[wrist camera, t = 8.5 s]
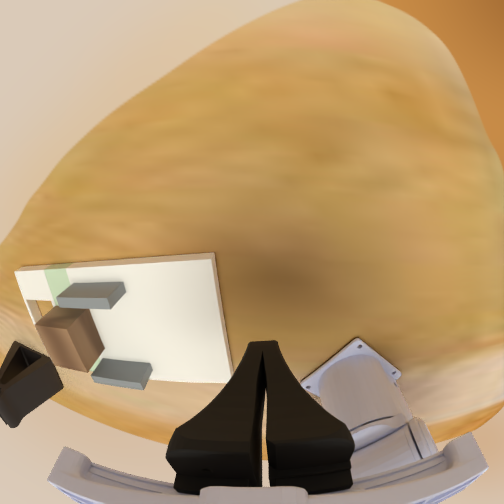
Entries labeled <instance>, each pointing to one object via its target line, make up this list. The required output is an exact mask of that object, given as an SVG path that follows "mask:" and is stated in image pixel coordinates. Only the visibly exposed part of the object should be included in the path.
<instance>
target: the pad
mask: <svg viewBox="0 0 504 504" xmlns="http://www.w3.org/2000/svg"><path fill="white" fill-rule="evenodd" d="M71 264H73V263H64V264H52V265H50V266H49V267H47V268H46V269H44V272H45V275H46V278H47V282H48V285H49V288H50V291H51V293H52V296H53V299H54V302H55V304H56V306H59V305H58V302H57V299H56V297H57V296H58V295H59V294H60V293H62V292H63V291H64V290H65V289H67V288H68V287H69V286H70V282H69V279H68V275H67V272H66V269H65V268H67V267H68V266H70V265H71ZM100 361H101V360H100V358H98V359H97V361H96V362H95V363H94V365H93V366H92V368H91V369H90V370H89V371H94V370H95V369H96V367H97V366H98V364H99V363H100Z"/></svg>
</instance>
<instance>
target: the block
mask: <svg viewBox="0 0 504 504" xmlns="http://www.w3.org/2000/svg"><path fill="white" fill-rule="evenodd" d="M35 327H36V329H37V332H38V334H39V336H40V338H41V340H42V342H43V344H44V346H45V348H46V350H47V352H48V354H49V356H50V358H51V360H52V362H53V363H54V365H56V366H60V367H64V368H68V369H73V370H77V371H82V372H87V373H88V372H89V370H90V369H91V368H92V366H93V365H94V363H95V362H96V361H97V359H98V358H99V356H100V355H101V354H102V352H103V351H104V349H105V347H104V345H103V343H102V340H101V338H100V335H99V333H98V330H97V328H96V325H95V323H94V320H93V318H92V315H91V312H90V309H81V308H61V307H59V306H55V307H54V308H52V309H51V310H50V311H49V312H48V313H47V314H46V315H44V316H43V317H42V318H41V319H40V320H39V321H38V322H37V323H36V324H35Z"/></svg>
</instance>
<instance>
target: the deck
mask: <svg viewBox="0 0 504 504" xmlns="http://www.w3.org/2000/svg"><path fill="white" fill-rule="evenodd" d="M51 265H52V264H51ZM49 266H50V265H38V266H25V267H21V268H19V269H18V270H16V271H14V272H15V275H16V278H17V281H18V284H19V287H20V290H21V293H22V296H23V298H24V301H25V304H26V306H27V309H28V311H29V314H30V316H31V318H32V321H33V323H34V325H35V324H36V323H37V322H38V321H39V320H40V319H41V318H42V315H41V313H40V310H39V308H38V305H37V303H36V300H47V301H51V302H52V305H53V307H55V306H56V304H55V302H54V299H53V296H52V293H51V291H50V288H49V285H48V282H47V278H46V275H45V272H44V269H46V268H47V267H49ZM65 269H66V272H67V275H68V279H69V282H70V286H69V287H68V288H67V289H65V290H64V291H63V292H62V293H60V294H59V295H58V296H57V297H56V299H57V302H58V305H59V307H61V308H81V309H90V312H91V315H92V318H93V320H94V323H95V325H96V328H97V330H98V333H99V335H100V338H101V340H102V343H103V345H104V347H105V349H104V351H103V352H102V354H101V355H100V356H99V358H100V360H101V361H100V363H99V364H98V366H97V367H96V369H95V370H94V371H93V373H92V374H91V377H92V379H93V380H94V382H95V383H100V384H106V385H111V386H117V387H124V388H131V389H138V390H144V389H145V386H146V384H147V382H148V380H149V379H151V380H162V381H176V382H197V383H228V381H229V380H230V378H231V377H232V375H233V374H234V372H233V366H232V361H231V355H230V350H229V344H228V338H227V332H226V326H225V320H224V314H223V308H222V301H221V295H220V288H219V281H218V275H217V268H216V261H215V253H214V252H212V253H198V254H185V255H171V256H158V257H144V258H131V259H117V260H104V261H91V262H77V263H73V264H71V265H70V266H68V267H67V268H65ZM36 330H37V329H36Z"/></svg>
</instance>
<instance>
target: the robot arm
mask: <svg viewBox="0 0 504 504" xmlns="http://www.w3.org/2000/svg"><path fill="white" fill-rule="evenodd" d="M359 345H360V346H359ZM400 376H401V372H400V371H399V370H398V369H397V368H395V367H394V366H393V365H392V364H390V363H389V362H388V361H387V360H386V359H384V358H383V357H382V356H381V355H379V354H378V353H377V352H376V351H374V350H373V349H372V348H371V347H369V346H368V345H367V344H366V343H364V342H363V341H362V340H361V339H359V338H356V339H354V340H353V341H351V342H350V343H349V344H348V345H347V346H346V347H344V348H343V349H342V350H341V351H340V352H339V353H337V354H336V355H335V356H334V357H332V358H331V359H330V360H329V361H327V362H326V363H325V364H324V365H322V366H321V367H320V368H319V369H317V370H316V371H315V372H313V373H312V374H311V375H309V376H308V377H307V378H305V379H304V380H303V381H301V383H299V382H298V381H297V379H296V378H295V377H294V375H293V374H292V372H291V371H290V369H289V367H288V365H287V364H286V362H285V360H284V358H283V356H282V354H281V351H280V349H279V346H278V342H277V341H276V340H273V341H255V342H250V343H249V344H248V347H247V349H246V352H245V354H244V356H243V358H242V360H241V362H240V364H239V366H238V367H237V369H236V371H235V372H234V374H233V375H232V377H231V378H230V380H229V381H228V383H227V384H226V386H225V387H224V388H223V389H222V390H221V392H220V393H219V394H218V395H217V396H216V397H215V398H214V399H213V400H212V401H211V402H210V403H209V404H208V405H207V406H206V407H205V408H204V409H203V410H202V411H200V412H199V413H198V414H197V415H196V416H194V417H193V418H192V419H190V420H189V421H187V422H186V423H184V424H183V425H181V426H180V427H178V428H176V429H175V431H174V433H173V435H172V437H171V439H170V442H169V445H168V449H167V453H166V459H167V461H168V462H169V464H170V465H171V466H172V468H173V469H174V470H175V472H176V478H175V482H174V484H173V483H167V482H162V481H157V480H152V479H147V478H143V477H139V476H135V475H131V474H127V473H124V472H120V471H116V470H113V469H110V468H107V467H104V466H101V465H98V464H95V463H92V462H91V461H90V459H89V458H88V457H86V456H85V455H84V454H82V453H80V452H78V451H75V450H73V449H70V448H68V447H64V448H63V450H62V452H61V454H60V455H59V457H58V459H57V461H56V463H55V465H54V467H53V469H52V471H51V473H50V475H49V477H48V479H47V480H48V482H49V483H51V484H52V485H53V486H54V487H56V488H57V489H58V490H60V491H61V492H63V493H64V494H65V495H67V496H68V497H70V498H71V499H72V500H74V501H75V502H78V503H80V504H438V503H440V502H442V501H444V500H445V499H447V498H449V497H451V496H453V495H455V494H457V493H459V492H461V491H462V490H463V489H465V488H466V487H467V486H469V485H470V484H471V483H472V482H474V481H475V480H476V479H477V478H478V477H479V476H480V475H482V474H483V473H484V472H485V471H486V470H487V469H488V467H489V466H488V465H487V463H486V460H485V458H484V456H483V454H482V452H481V450H480V448H479V446H478V445H477V442H476V440H475V438H474V437H473V435H472V433H471V432H468V433H466V434H464V435H462V436H460V437H458V438H456V439H454V440H452V441H451V442H449V443H448V444H447V445H446V446H445V448H444V449H443V451H440V452H438V449H437V447H436V445H435V443H434V440H433V438H432V436H431V434H430V432H429V430H428V428H427V426H426V424H425V422H424V421H423V419H417V418H416V417H414V418H413V417H412V413H411V411H410V409H409V407H408V404H407V402H406V400H405V398H404V396H403V394H402V392H401V390H400V388H399V386H398V384H397V382H396V380H397V379H398V378H399V377H400ZM304 389H305V390H307V391H309V392H311V393H313V394H314V395H316V396H318V397H320V399H321V404H322V407H321V406H320V405H319V404H318V403H317V402H316V401H315V400H314V399H313V398H312V397H311V396H310V395H309V394H308V393H307V392H306V391H305V390H304ZM265 390H266V393H267V424H266V445H267V454H268V463H269V481H270V487H262V420H263V411H264V401H265Z"/></svg>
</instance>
